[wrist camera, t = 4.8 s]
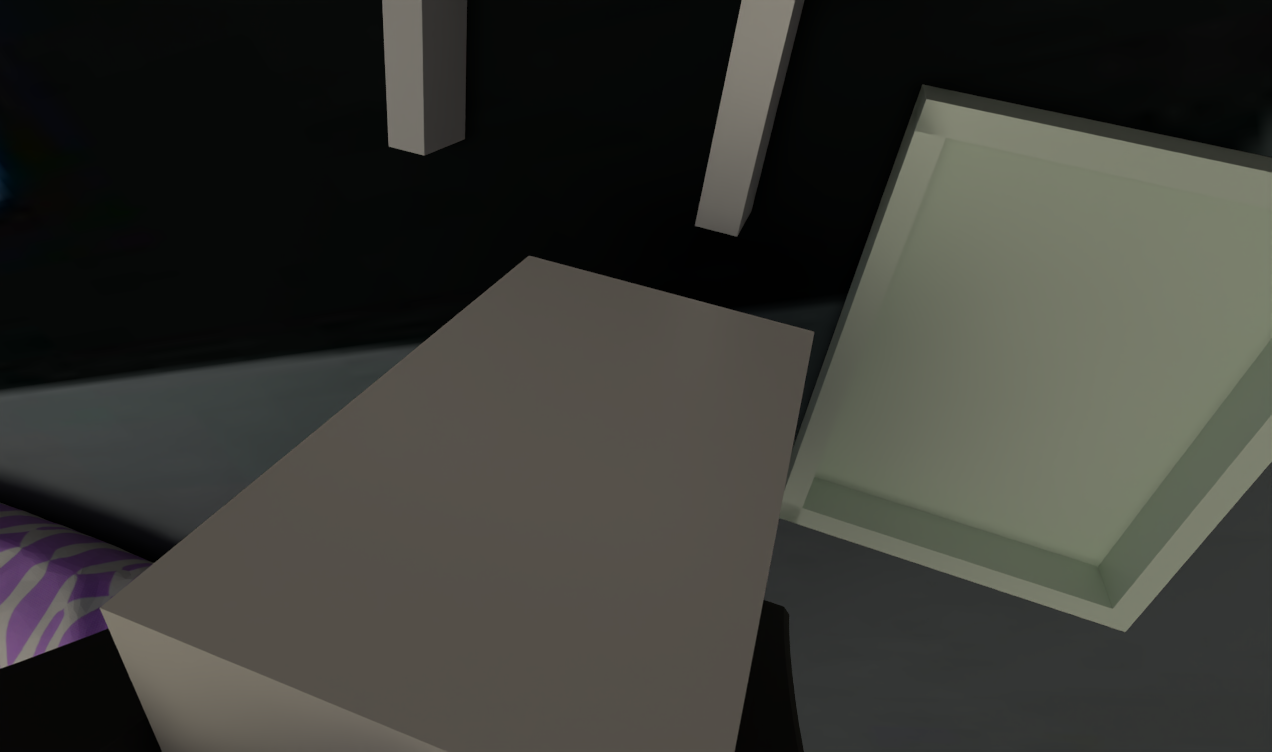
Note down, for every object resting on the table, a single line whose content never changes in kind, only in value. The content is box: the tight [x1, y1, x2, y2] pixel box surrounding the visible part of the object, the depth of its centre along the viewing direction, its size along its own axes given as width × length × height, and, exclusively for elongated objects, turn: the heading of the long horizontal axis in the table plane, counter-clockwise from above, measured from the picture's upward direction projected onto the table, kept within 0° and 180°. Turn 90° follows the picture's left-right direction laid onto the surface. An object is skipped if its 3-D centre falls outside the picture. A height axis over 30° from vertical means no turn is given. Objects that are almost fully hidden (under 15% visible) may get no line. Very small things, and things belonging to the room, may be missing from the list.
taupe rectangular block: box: [100, 256, 814, 752], centre depth 10 cm, size 8×5×8 cm, turn 172°
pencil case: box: [0, 503, 154, 669], centre depth 33 cm, size 22×9×10 cm, turn 87°
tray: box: [779, 84, 1272, 632], centre depth 16 cm, size 11×9×2 cm
